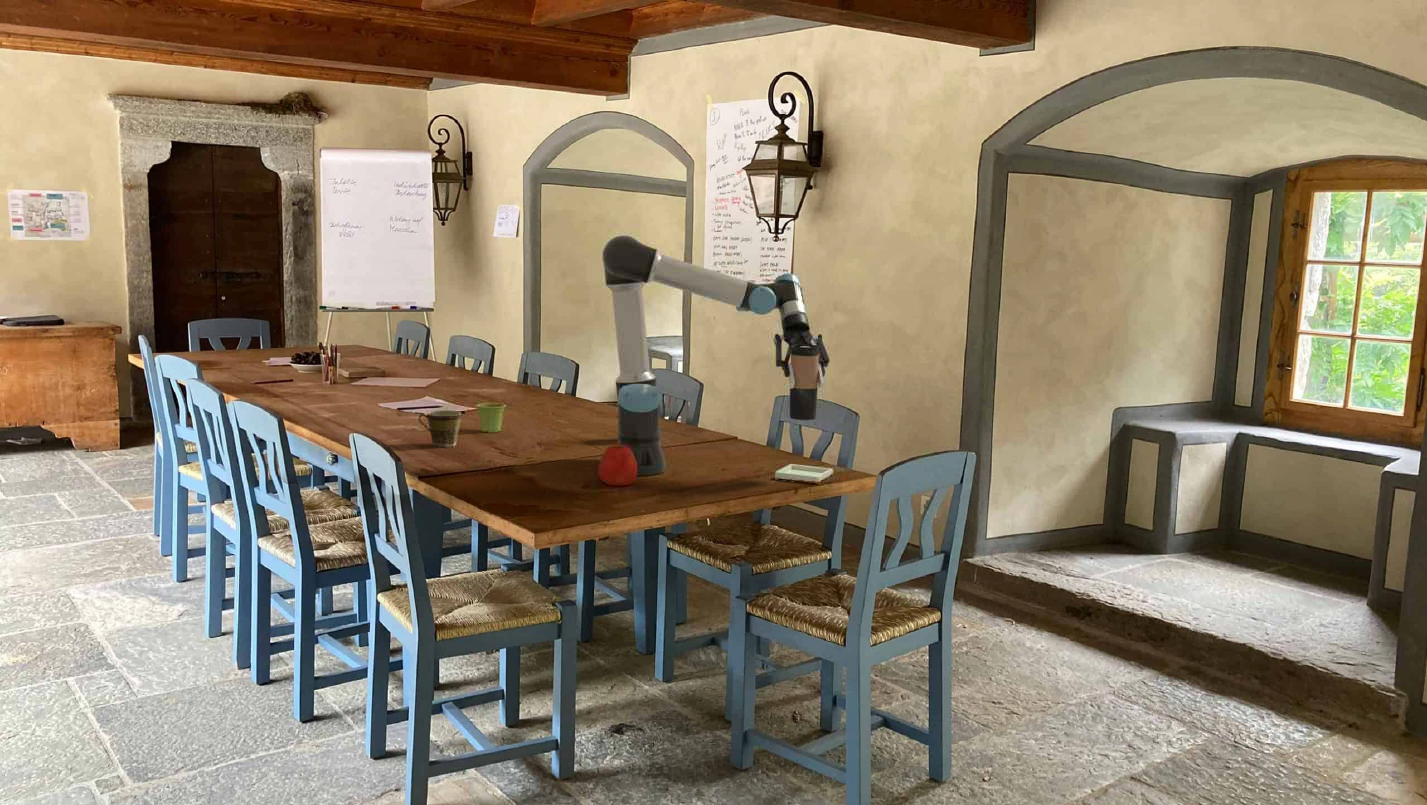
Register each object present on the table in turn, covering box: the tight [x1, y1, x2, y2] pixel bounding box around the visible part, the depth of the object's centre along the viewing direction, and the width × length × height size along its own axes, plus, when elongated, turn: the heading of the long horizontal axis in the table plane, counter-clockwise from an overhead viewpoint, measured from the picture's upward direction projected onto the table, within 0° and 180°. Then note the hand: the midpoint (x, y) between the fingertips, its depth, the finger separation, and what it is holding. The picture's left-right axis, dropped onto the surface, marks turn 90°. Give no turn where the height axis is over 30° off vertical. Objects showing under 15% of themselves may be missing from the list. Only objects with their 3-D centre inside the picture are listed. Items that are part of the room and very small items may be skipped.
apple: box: [598, 444, 638, 487], centre depth 291 cm, size 10×10×10 cm
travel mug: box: [789, 344, 820, 421], centre depth 303 cm, size 8×8×20 cm
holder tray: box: [774, 463, 834, 482], centre depth 305 cm, size 12×12×2 cm
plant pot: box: [476, 402, 507, 433], centre depth 360 cm, size 9×9×9 cm
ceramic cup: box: [418, 410, 462, 448], centre depth 335 cm, size 13×10×10 cm
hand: (807, 385), depth 300 cm, fingers closed on travel mug, 7 cm apart
